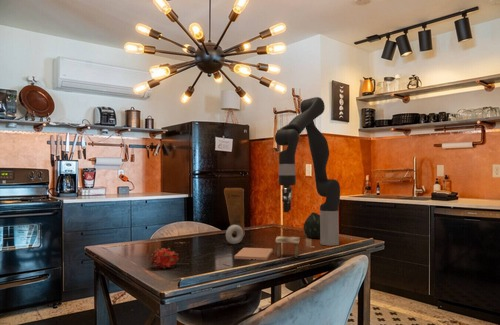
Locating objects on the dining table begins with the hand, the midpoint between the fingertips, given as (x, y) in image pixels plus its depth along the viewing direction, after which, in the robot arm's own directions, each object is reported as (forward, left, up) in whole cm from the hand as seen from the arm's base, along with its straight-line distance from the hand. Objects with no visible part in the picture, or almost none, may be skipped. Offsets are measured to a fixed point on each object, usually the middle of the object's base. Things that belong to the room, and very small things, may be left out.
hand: (287, 211), depth 164 cm
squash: (-11, -50, -20) cm, 55 cm away
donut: (+30, -23, -20) cm, 43 cm away
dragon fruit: (+45, +28, -20) cm, 57 cm away
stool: (0, 0, -20) cm, 20 cm away
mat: (+15, 0, -20) cm, 25 cm away
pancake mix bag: (+37, -53, -20) cm, 68 cm away
